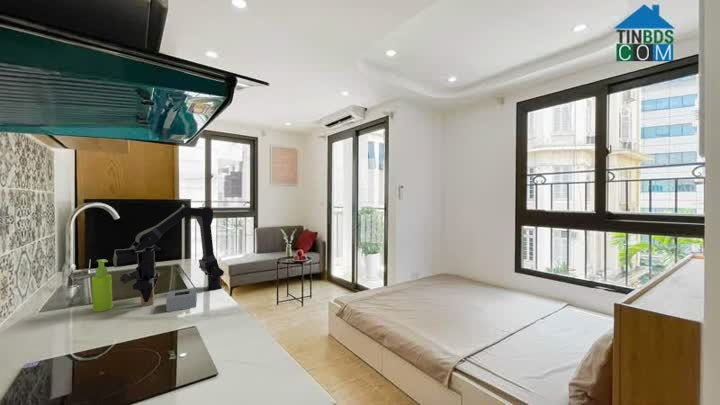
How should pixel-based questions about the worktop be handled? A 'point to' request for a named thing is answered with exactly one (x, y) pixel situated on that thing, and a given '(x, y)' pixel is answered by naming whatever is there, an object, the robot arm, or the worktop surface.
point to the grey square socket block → (181, 299)
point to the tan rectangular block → (150, 301)
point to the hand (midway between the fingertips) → (147, 299)
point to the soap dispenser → (102, 288)
